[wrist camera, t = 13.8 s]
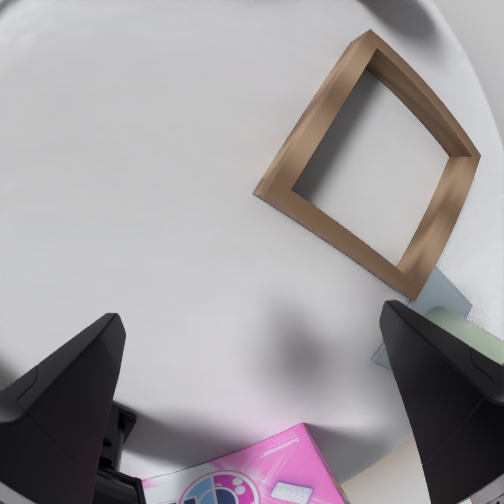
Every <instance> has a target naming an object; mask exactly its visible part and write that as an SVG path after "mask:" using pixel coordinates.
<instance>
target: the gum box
mask: <svg viewBox="0 0 504 504" xmlns="http://www.w3.org/2000/svg"><path fill="white" fill-rule="evenodd" d="M142 485H143V490H144V495H145V499H146V504H351V503H350V501H349V500H348V498H347V496H346V494H345V493H344V491H343V490H342V488H341V486H340V484H339V483H338V481H337V479H336V477H335V476H334V474H333V472H332V470H331V469H330V467H329V465H328V464H327V462H326V460H325V458H324V456H323V454H322V452H321V451H320V449H319V447H318V446H317V444H316V442H315V441H314V439H313V438H312V436H311V435H310V433H309V431H308V430H307V428H306V427H305V425H304V423H300V424H298V425H296V426H294V427H292V428H290V429H288V430H286V431H284V432H282V433H280V434H278V435H275V436H273V437H270V438H268V439H266V440H263V441H261V442H259V443H256V444H254V445H252V446H250V447H248V448H245V449H243V450H240V451H237V452H235V453H232V454H229V455H226V456H223V457H221V458H218V459H215V460H213V461H210V462H207V463H204V464H201V465H197V466H194V467H191V468H187V469H184V470H181V471H178V472H175V473H171V474H167V475H162V476H158V477H154V478H151V479H147V480H143V481H142Z"/></svg>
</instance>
